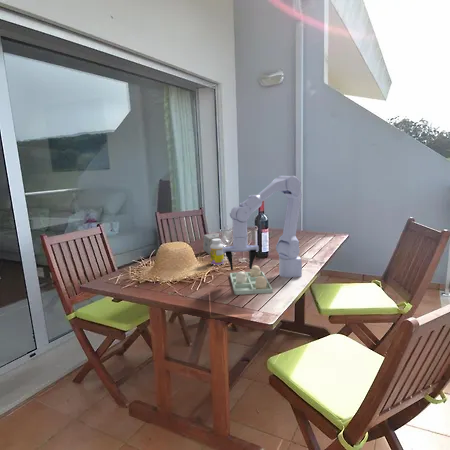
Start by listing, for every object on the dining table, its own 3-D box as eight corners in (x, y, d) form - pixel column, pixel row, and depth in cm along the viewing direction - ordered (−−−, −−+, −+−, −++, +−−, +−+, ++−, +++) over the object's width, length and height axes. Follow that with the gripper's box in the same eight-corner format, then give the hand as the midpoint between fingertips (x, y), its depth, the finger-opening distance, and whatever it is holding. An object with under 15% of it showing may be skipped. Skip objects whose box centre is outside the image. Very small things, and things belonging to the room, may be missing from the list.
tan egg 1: (259, 275, 145) (259, 263, 144) (261, 278, 140) (261, 266, 139) (249, 276, 144) (249, 264, 143) (251, 279, 140) (251, 267, 139)
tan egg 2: (265, 287, 131) (265, 274, 130) (267, 291, 126) (267, 277, 125) (254, 287, 131) (254, 274, 130) (256, 291, 126) (256, 278, 125)
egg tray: (262, 276, 146) (262, 271, 146) (272, 294, 125) (272, 289, 125) (230, 277, 145) (229, 272, 145) (234, 296, 124) (234, 291, 124)
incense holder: (209, 255, 184) (208, 237, 182) (203, 251, 191) (202, 234, 189) (224, 252, 189) (224, 234, 187) (217, 249, 196) (217, 232, 194)
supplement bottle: (209, 263, 168) (208, 238, 166) (221, 261, 171) (220, 237, 168) (213, 266, 162) (212, 241, 160) (225, 264, 165) (224, 240, 162)
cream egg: (245, 281, 137) (245, 269, 136) (247, 285, 133) (247, 273, 132) (235, 282, 137) (235, 270, 136) (236, 286, 133) (236, 273, 132)
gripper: (256, 233, 136) (257, 264, 138) (221, 235, 135) (222, 266, 137) (259, 236, 129) (260, 270, 131) (222, 238, 128) (223, 272, 130)
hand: (241, 268), depth 134 cm, fingers open, 7 cm apart
